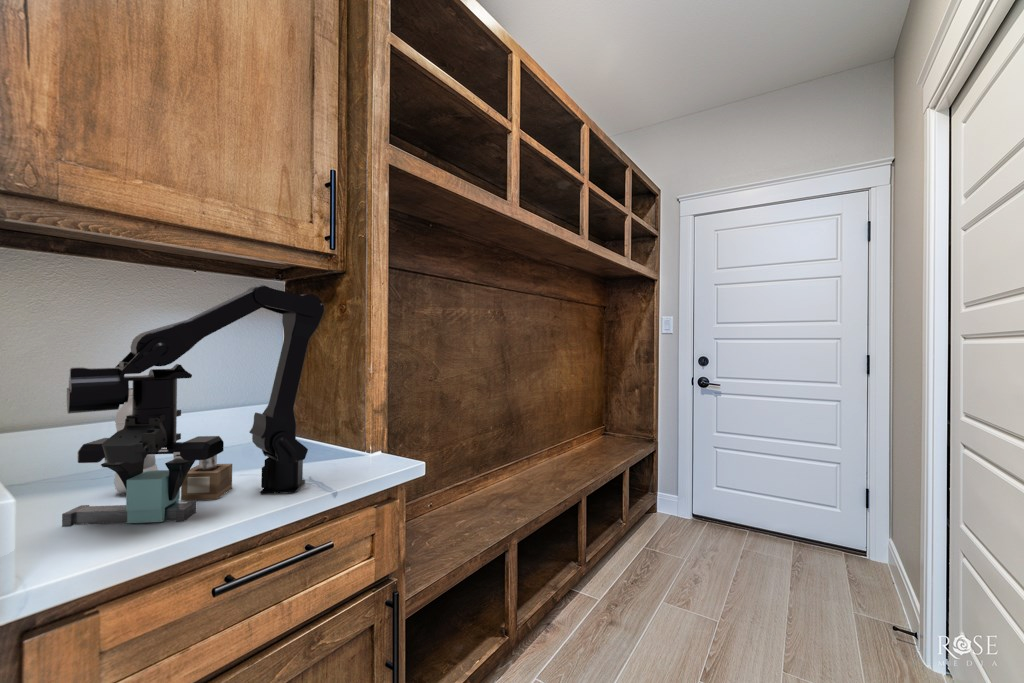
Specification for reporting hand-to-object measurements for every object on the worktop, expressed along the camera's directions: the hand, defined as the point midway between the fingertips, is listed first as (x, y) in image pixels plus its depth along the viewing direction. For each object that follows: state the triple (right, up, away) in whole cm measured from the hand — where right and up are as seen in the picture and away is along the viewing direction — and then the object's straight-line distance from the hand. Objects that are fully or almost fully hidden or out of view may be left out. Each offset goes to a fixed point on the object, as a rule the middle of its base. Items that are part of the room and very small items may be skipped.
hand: (153, 500), depth 72 cm
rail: (-3, -3, -1) cm, 4 cm away
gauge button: (+1, 0, +11) cm, 11 cm away
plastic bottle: (-13, -3, +12) cm, 18 cm away
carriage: (0, -3, 0) cm, 3 cm away
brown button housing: (+1, -3, +11) cm, 12 cm away
